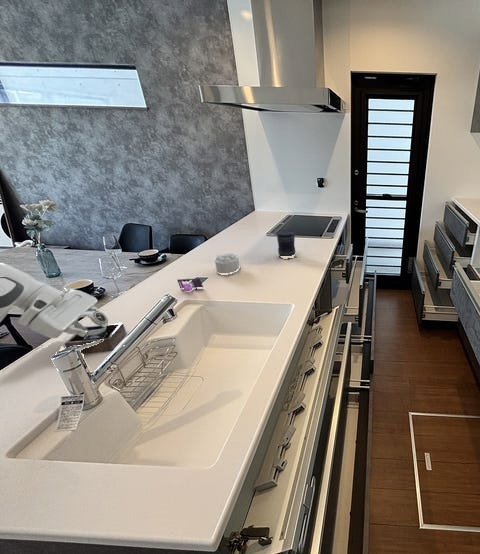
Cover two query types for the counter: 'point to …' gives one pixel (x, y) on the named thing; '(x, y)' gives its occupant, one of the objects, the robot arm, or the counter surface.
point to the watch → (98, 320)
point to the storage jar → (286, 242)
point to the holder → (108, 344)
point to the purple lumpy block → (188, 287)
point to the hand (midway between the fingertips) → (94, 325)
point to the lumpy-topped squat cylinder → (227, 264)
